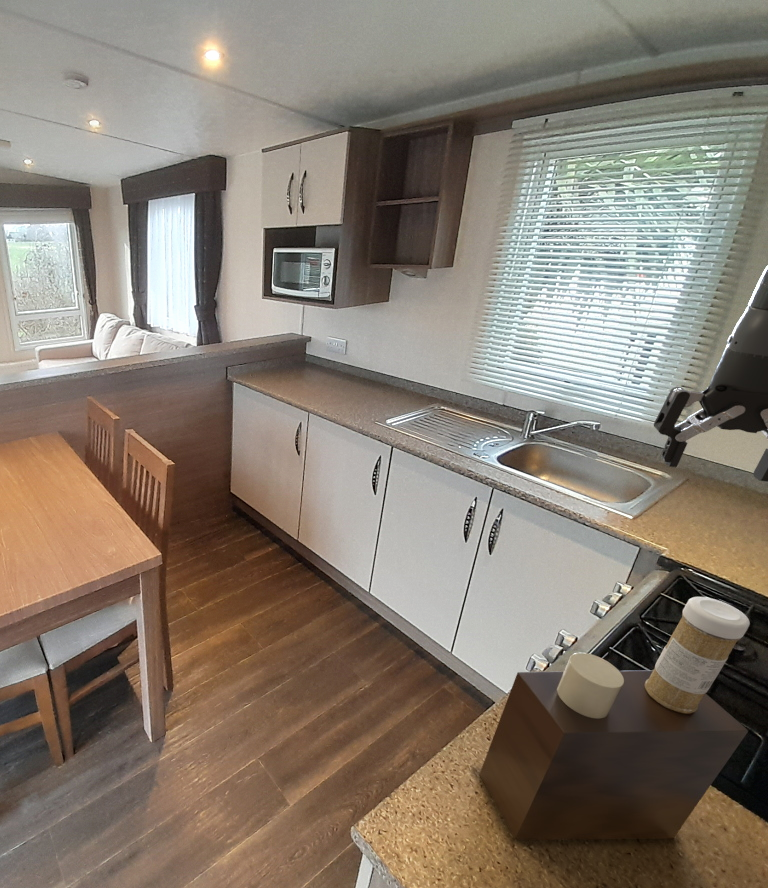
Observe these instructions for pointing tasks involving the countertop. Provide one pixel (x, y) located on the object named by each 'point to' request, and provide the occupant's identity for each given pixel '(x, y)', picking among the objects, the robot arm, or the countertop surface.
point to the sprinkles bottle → (695, 653)
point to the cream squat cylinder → (590, 685)
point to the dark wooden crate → (603, 762)
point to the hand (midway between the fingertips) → (713, 471)
